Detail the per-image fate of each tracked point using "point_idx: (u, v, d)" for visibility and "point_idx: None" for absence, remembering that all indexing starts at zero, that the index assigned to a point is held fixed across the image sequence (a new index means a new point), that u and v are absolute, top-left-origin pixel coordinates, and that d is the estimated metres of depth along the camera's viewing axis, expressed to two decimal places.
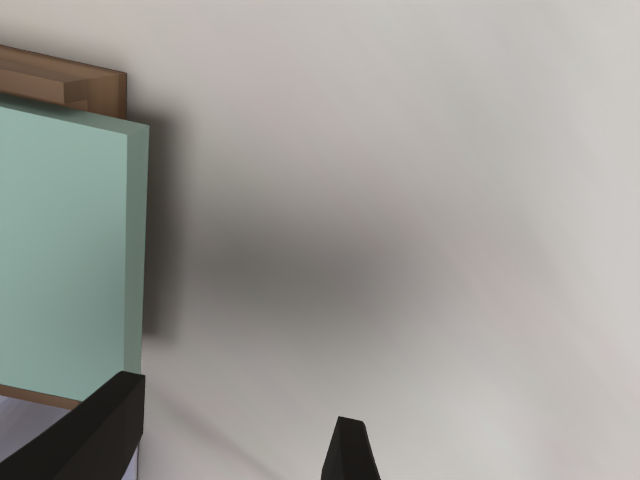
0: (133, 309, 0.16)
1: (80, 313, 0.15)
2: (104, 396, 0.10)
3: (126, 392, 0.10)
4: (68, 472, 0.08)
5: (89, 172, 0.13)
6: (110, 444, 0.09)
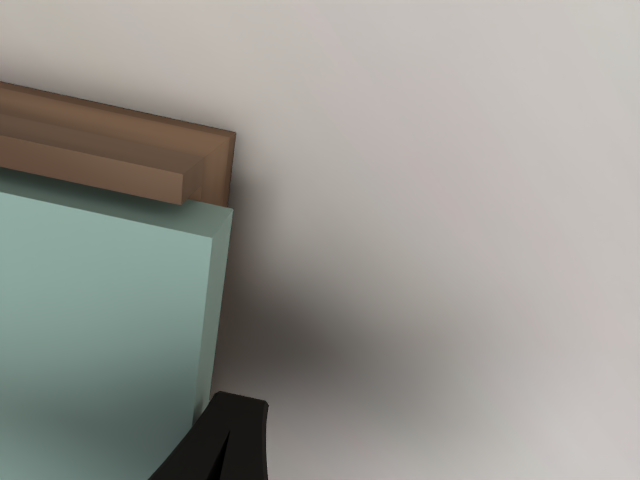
0: None
1: (123, 467, 0.11)
2: (213, 419, 0.10)
3: (232, 414, 0.10)
4: None
5: (148, 290, 0.09)
6: (221, 467, 0.09)
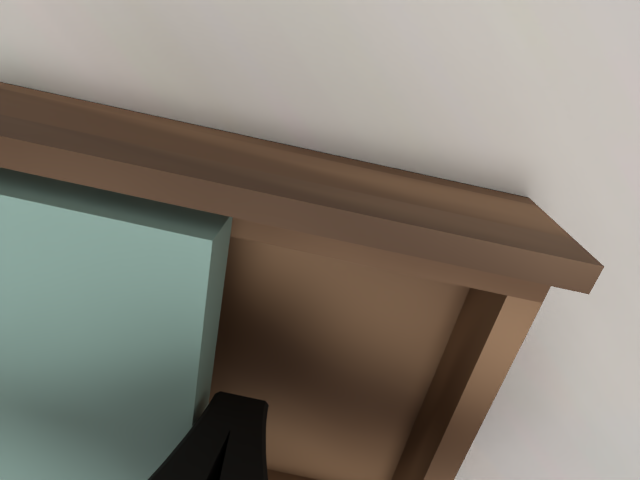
0: None
1: (123, 468, 0.11)
2: (214, 419, 0.10)
3: (233, 414, 0.10)
4: None
5: (148, 292, 0.09)
6: (221, 467, 0.09)
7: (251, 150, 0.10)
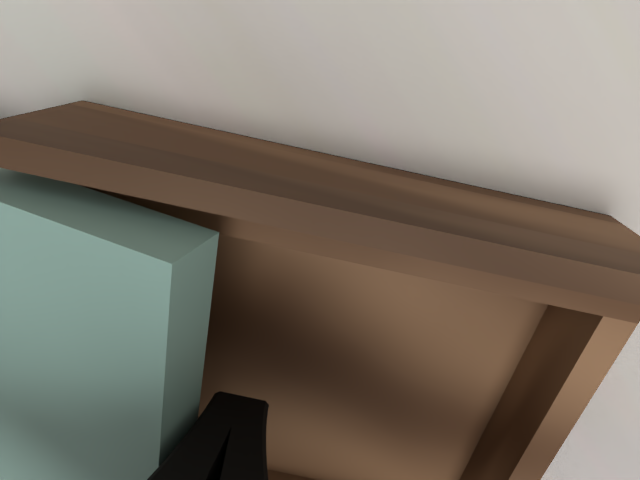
0: None
1: None
2: (213, 419, 0.10)
3: (232, 414, 0.10)
4: None
5: (112, 312, 0.08)
6: (220, 467, 0.09)
7: (344, 171, 0.10)
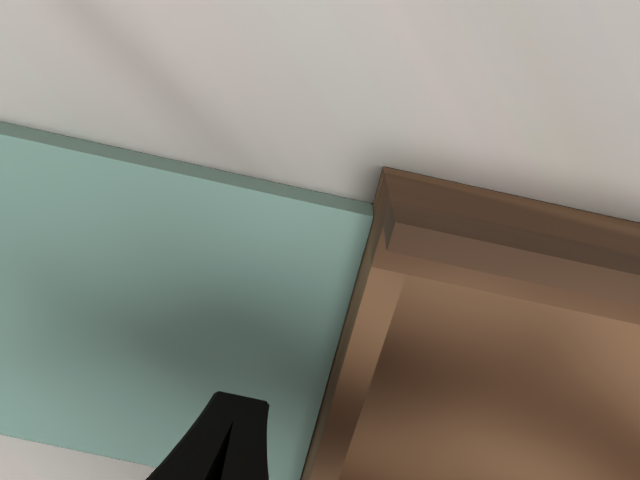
0: None
1: (270, 399, 0.14)
2: (212, 419, 0.10)
3: (231, 414, 0.10)
4: None
5: (318, 256, 0.12)
6: (219, 467, 0.09)
7: None
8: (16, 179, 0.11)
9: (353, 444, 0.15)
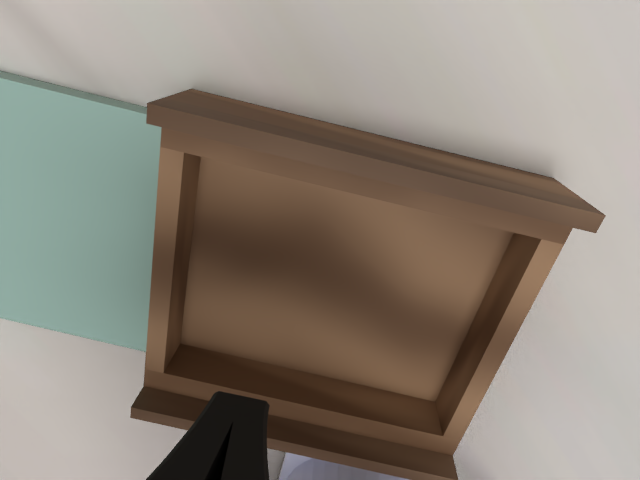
0: None
1: (129, 270, 0.19)
2: (212, 418, 0.10)
3: (231, 414, 0.10)
4: None
5: (146, 152, 0.16)
6: (220, 467, 0.09)
7: (373, 140, 0.15)
8: None
9: (197, 310, 0.20)
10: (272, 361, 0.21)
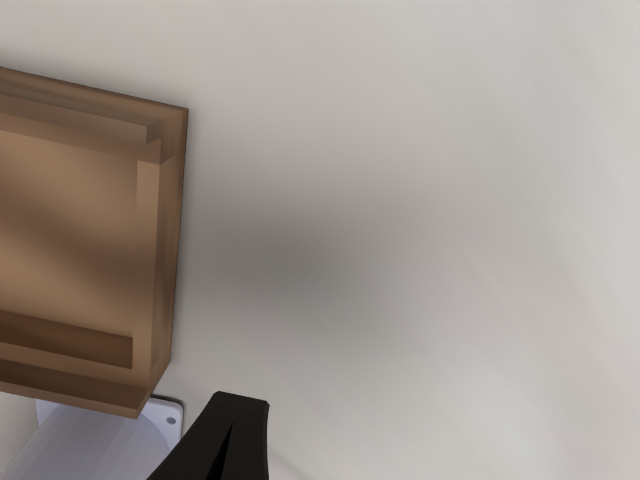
0: None
1: None
2: (212, 419, 0.10)
3: (231, 414, 0.10)
4: None
5: None
6: (219, 467, 0.09)
7: None
8: None
9: None
10: None
